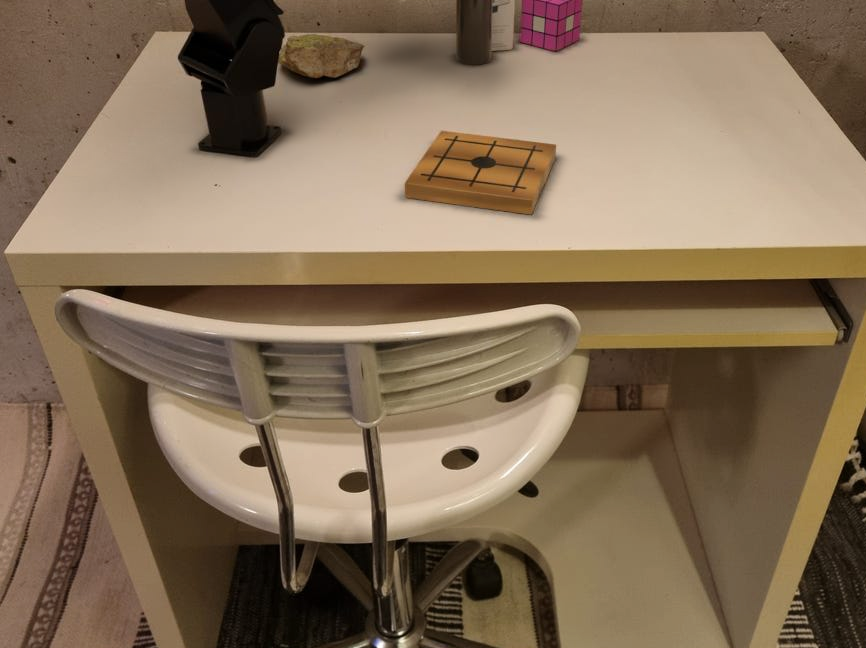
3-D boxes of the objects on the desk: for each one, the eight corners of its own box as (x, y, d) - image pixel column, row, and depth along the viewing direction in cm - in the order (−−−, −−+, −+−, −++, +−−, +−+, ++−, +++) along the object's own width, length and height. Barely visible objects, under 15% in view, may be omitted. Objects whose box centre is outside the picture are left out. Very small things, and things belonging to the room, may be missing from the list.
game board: (531, 215, 76) (532, 199, 75) (405, 197, 78) (404, 182, 77) (555, 158, 85) (556, 143, 84) (441, 144, 87) (440, 129, 86)
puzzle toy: (543, 31, 114) (546, -14, 110) (579, 40, 112) (583, -6, 108) (519, 42, 111) (521, -4, 107) (555, 52, 108) (559, 5, 104)
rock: (353, 89, 98) (356, 56, 96) (266, 75, 97) (267, 41, 95) (366, 63, 109) (369, 33, 107) (288, 50, 108) (289, 20, 106)
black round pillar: (486, 66, 104) (488, -40, 96) (452, 62, 105) (451, -43, 97) (494, 54, 107) (497, -50, 99) (461, 51, 108) (461, -53, 100)
